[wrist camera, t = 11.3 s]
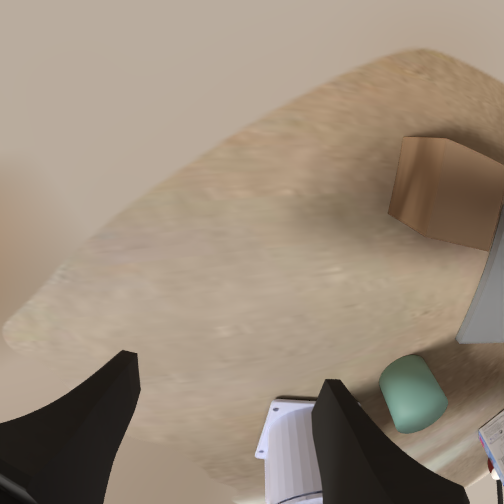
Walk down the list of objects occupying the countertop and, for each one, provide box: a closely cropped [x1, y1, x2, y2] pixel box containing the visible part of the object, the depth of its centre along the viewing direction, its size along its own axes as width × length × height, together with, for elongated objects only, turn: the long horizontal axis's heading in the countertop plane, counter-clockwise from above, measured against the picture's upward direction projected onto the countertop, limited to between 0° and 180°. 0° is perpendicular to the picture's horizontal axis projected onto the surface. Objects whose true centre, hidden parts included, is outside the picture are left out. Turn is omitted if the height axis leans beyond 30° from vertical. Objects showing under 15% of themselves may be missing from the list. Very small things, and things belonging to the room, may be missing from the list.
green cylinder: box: [379, 355, 448, 434], centre depth 20 cm, size 4×4×5 cm
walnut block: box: [388, 137, 504, 251], centre depth 15 cm, size 5×5×5 cm
